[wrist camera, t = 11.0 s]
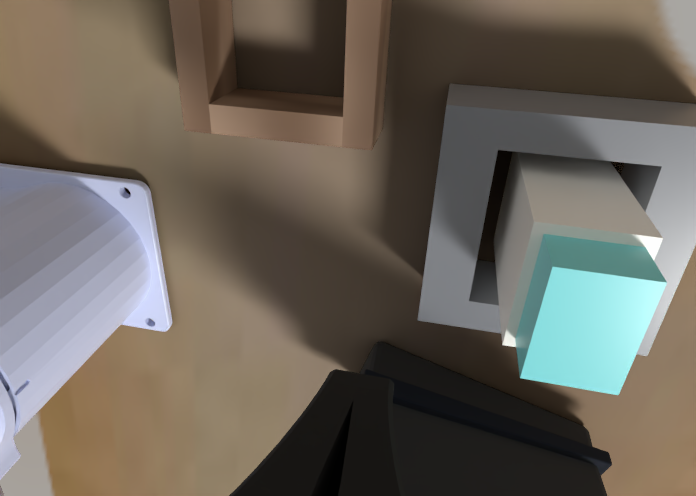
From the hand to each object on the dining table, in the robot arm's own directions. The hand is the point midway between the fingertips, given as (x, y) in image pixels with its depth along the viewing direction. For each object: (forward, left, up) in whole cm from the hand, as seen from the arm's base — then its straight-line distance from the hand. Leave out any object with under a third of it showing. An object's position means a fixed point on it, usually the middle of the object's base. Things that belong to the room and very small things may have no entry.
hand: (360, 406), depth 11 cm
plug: (+5, +1, -10) cm, 12 cm away
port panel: (+5, +1, -10) cm, 12 cm away
